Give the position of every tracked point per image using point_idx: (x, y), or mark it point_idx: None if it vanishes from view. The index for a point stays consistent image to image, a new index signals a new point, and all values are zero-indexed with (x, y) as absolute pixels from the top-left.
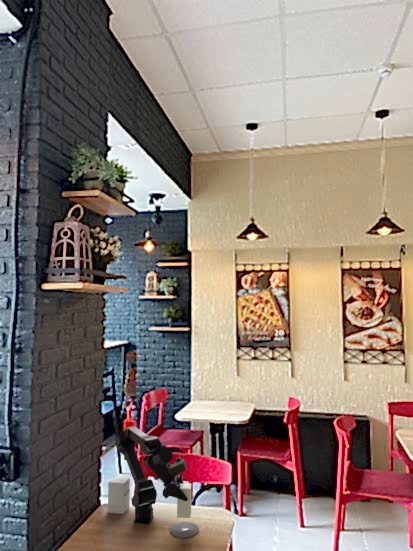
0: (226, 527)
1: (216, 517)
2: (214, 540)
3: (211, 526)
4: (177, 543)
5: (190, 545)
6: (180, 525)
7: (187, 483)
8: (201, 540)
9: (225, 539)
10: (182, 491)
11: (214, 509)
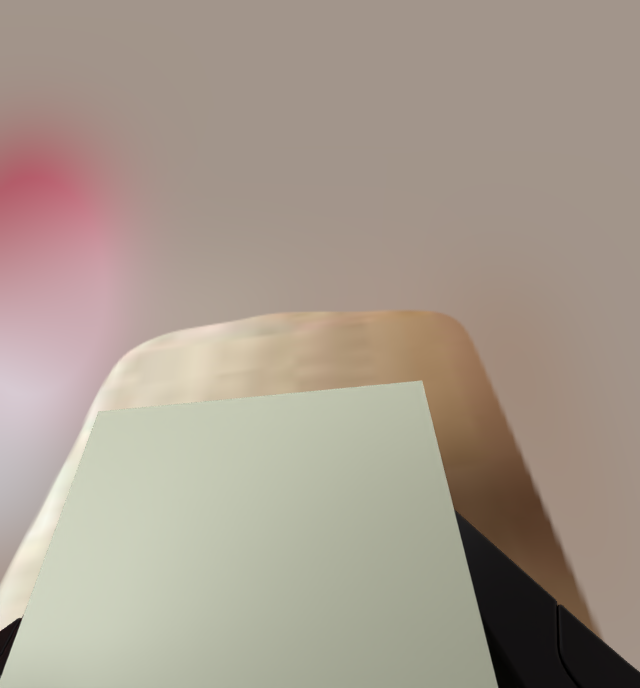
0: (292, 322)
1: (196, 375)
2: (419, 352)
3: (286, 385)
4: (529, 568)
5: (515, 467)
6: None
7: (59, 526)
8: (438, 413)
9: (397, 312)
10: (534, 644)
11: (113, 395)
